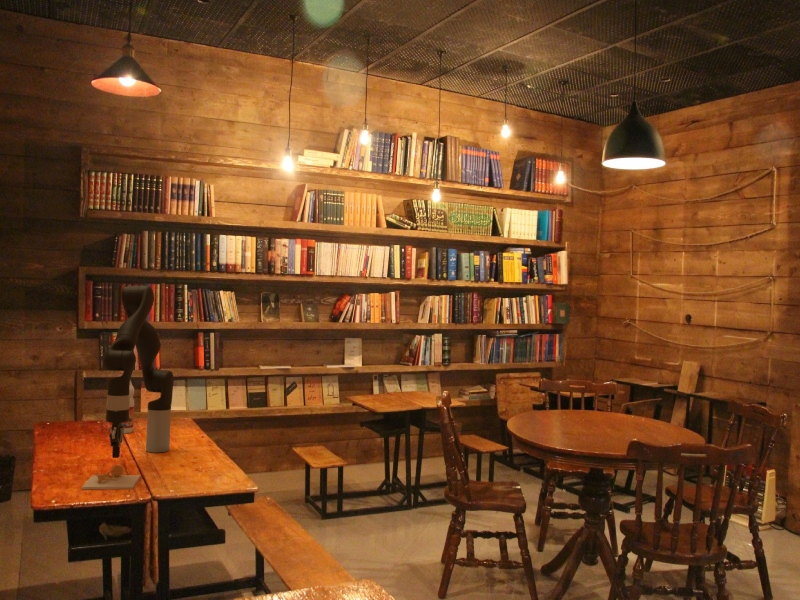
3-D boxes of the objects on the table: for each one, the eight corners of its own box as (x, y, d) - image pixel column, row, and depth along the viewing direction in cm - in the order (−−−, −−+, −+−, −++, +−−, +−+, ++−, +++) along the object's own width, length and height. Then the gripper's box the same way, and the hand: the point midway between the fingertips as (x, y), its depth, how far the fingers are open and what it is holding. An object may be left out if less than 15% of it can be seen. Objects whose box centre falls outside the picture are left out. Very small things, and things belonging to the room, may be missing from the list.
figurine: (110, 468, 252) (87, 487, 241) (111, 454, 250) (87, 472, 239) (130, 476, 250) (108, 495, 240) (131, 462, 248) (109, 481, 237)
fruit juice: (136, 430, 335) (138, 371, 335) (128, 434, 325) (130, 373, 325) (116, 429, 335) (119, 370, 335) (107, 433, 326) (110, 372, 326)
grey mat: (92, 477, 249) (92, 475, 249) (140, 477, 252) (140, 475, 252) (81, 489, 234) (81, 487, 234) (132, 488, 237) (132, 486, 237)
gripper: (110, 404, 254) (108, 453, 254) (102, 410, 241) (100, 461, 241) (132, 405, 256) (130, 453, 256) (125, 410, 243) (123, 461, 243)
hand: (115, 457), depth 248 cm, fingers closed
